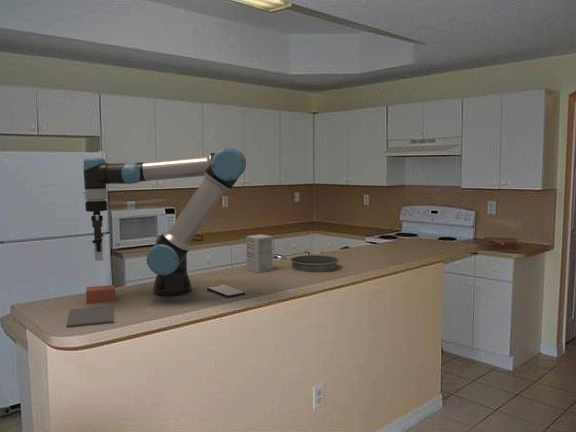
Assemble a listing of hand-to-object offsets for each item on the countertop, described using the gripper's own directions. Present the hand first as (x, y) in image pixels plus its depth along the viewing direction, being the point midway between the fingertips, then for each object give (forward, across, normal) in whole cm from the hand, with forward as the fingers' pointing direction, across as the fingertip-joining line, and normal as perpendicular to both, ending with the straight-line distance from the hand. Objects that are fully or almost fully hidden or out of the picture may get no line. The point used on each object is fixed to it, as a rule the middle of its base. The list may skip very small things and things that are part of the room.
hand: (99, 257), depth 188 cm
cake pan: (+18, -30, +100) cm, 106 cm away
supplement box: (+18, -32, +72) cm, 81 cm away
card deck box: (+17, -1, 0) cm, 17 cm away
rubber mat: (+17, +20, -3) cm, 27 cm away
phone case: (+18, +3, +47) cm, 50 cm away
